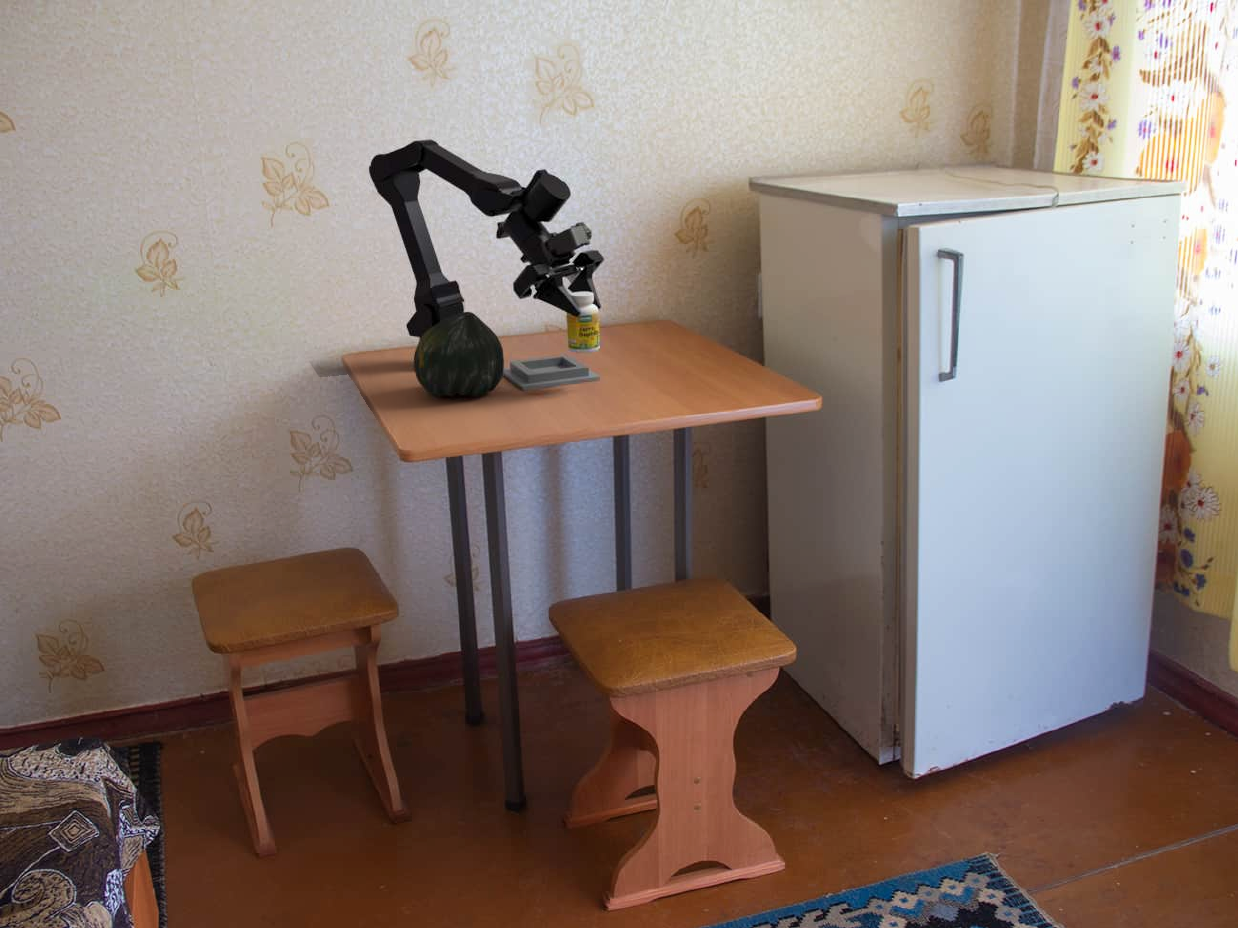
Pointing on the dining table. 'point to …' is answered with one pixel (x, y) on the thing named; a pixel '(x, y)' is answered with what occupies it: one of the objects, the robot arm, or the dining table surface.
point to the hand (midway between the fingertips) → (589, 312)
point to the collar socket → (548, 372)
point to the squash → (459, 357)
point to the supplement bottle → (583, 325)
